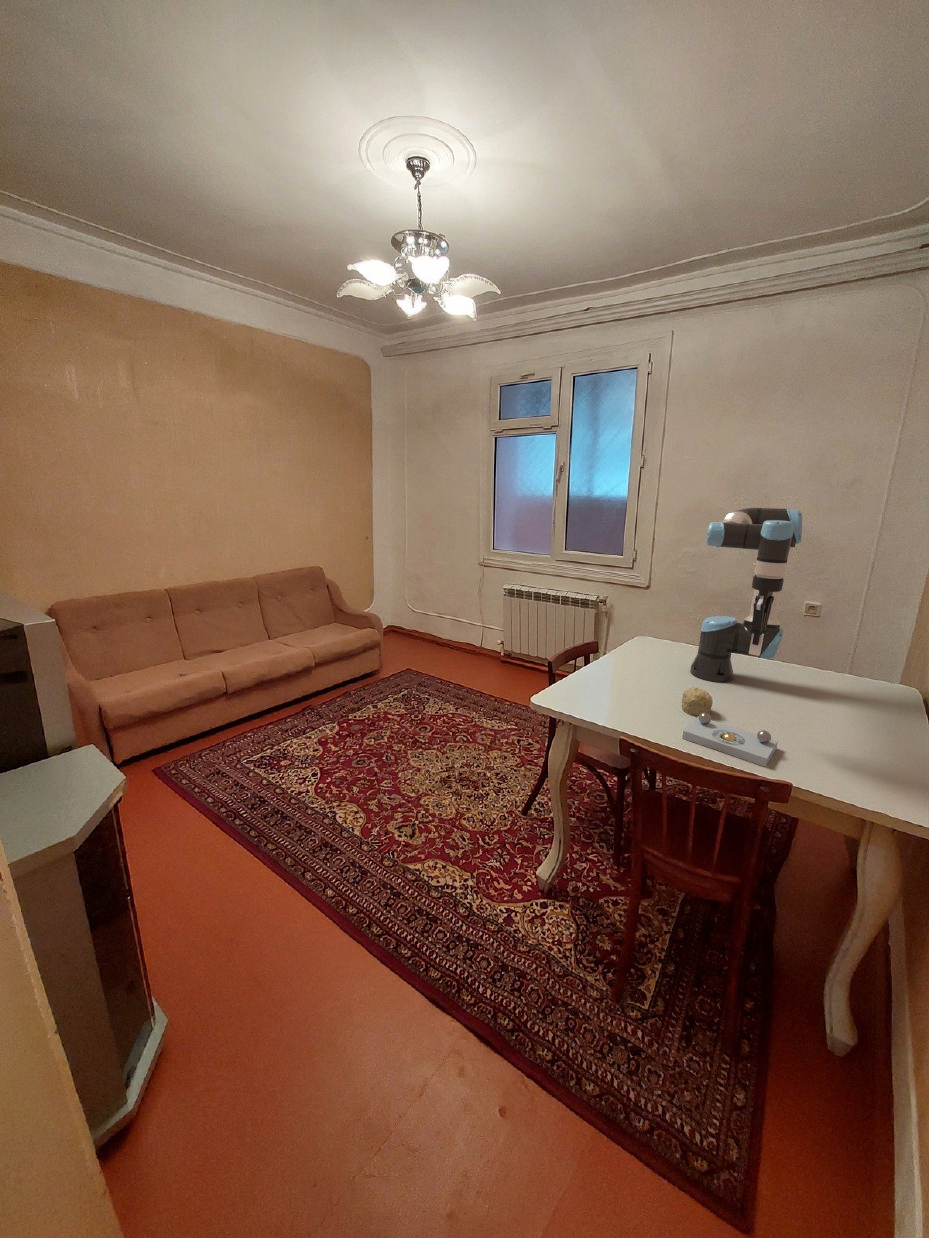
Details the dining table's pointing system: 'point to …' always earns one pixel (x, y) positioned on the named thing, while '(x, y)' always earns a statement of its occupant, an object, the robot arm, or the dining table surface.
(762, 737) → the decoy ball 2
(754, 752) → the grey flat block
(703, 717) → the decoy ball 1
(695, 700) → the decorative object
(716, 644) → the robot arm
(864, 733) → the dining table surface
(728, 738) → the brass ball
